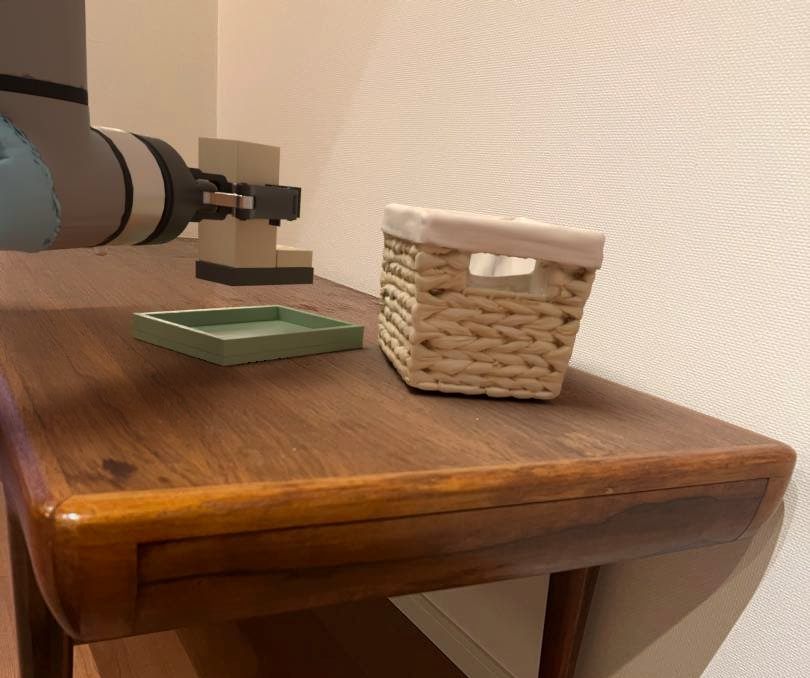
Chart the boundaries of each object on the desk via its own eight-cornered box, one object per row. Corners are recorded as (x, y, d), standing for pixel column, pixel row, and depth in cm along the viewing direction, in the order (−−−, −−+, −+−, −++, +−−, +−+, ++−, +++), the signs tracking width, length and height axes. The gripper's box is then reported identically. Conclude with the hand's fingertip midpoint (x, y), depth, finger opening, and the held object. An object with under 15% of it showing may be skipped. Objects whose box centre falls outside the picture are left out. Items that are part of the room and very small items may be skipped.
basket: (366, 340, 87) (380, 197, 81) (505, 353, 90) (528, 216, 84) (398, 397, 66) (419, 208, 60) (578, 410, 69) (616, 232, 63)
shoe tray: (132, 337, 75) (132, 313, 74) (277, 325, 90) (278, 304, 89) (223, 366, 68) (224, 339, 67) (362, 347, 83) (364, 325, 82)
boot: (232, 286, 71) (235, 139, 66) (195, 278, 73) (195, 135, 69) (313, 284, 79) (321, 153, 74) (277, 276, 82) (282, 149, 77)
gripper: (10, 228, 59) (173, 226, 79) (245, 263, 55) (353, 252, 75) (1, 116, 56) (173, 144, 76) (249, 145, 52) (360, 166, 72)
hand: (262, 197), depth 76 cm, fingers closed on boot, 6 cm apart
